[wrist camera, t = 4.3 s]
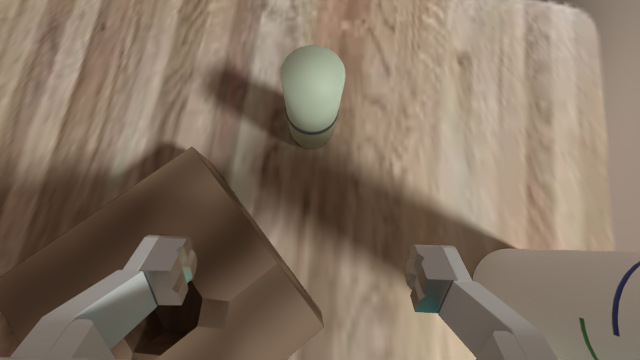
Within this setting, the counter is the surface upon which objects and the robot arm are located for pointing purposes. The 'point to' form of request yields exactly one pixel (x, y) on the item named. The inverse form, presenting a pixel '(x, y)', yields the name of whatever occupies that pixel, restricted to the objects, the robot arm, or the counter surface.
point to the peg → (312, 93)
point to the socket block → (210, 280)
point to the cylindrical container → (571, 298)
